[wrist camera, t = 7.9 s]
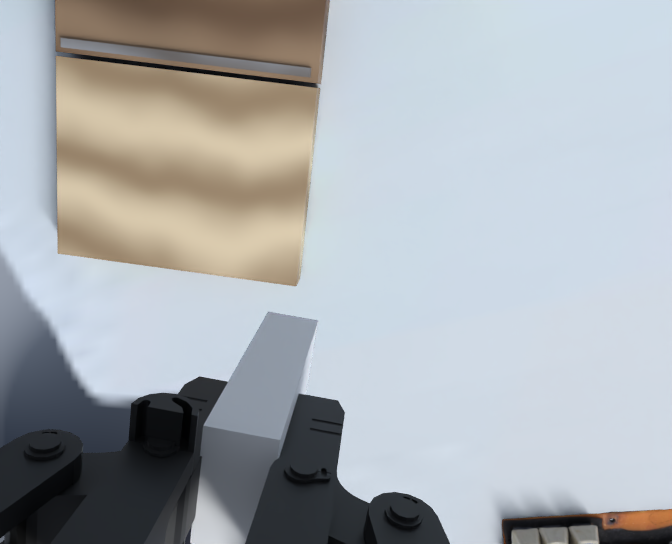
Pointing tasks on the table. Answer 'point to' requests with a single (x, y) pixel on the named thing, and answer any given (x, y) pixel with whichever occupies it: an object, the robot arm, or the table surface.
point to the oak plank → (183, 169)
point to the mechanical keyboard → (592, 528)
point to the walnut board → (201, 34)
